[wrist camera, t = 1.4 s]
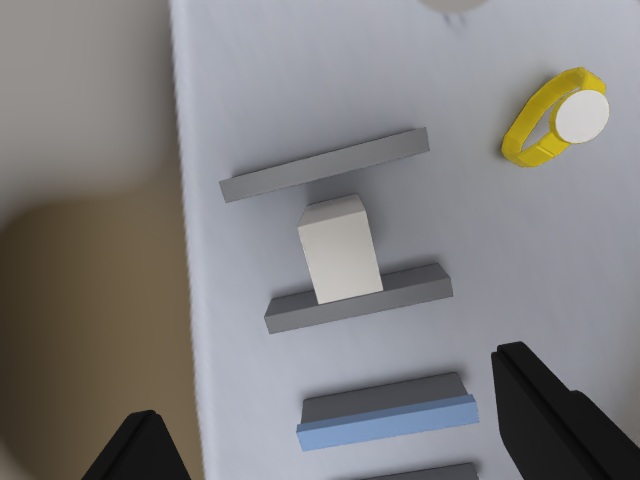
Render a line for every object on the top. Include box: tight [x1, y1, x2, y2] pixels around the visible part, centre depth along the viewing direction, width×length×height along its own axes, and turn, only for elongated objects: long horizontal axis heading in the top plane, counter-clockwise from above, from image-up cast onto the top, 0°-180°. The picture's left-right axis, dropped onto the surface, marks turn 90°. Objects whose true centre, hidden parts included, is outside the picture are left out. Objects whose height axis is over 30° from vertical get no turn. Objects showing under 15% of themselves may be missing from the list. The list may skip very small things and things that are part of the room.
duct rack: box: [219, 127, 479, 480], centre depth 27 cm, size 14×33×4 cm, turn 14°
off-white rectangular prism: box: [297, 194, 383, 304], centre depth 23 cm, size 4×5×7 cm
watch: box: [502, 67, 610, 167], centre depth 21 cm, size 6×3×6 cm, turn 152°
